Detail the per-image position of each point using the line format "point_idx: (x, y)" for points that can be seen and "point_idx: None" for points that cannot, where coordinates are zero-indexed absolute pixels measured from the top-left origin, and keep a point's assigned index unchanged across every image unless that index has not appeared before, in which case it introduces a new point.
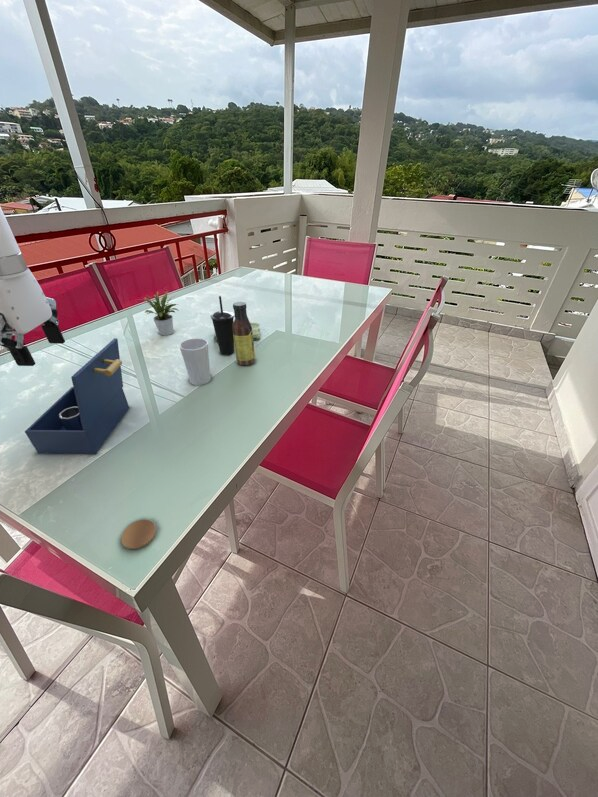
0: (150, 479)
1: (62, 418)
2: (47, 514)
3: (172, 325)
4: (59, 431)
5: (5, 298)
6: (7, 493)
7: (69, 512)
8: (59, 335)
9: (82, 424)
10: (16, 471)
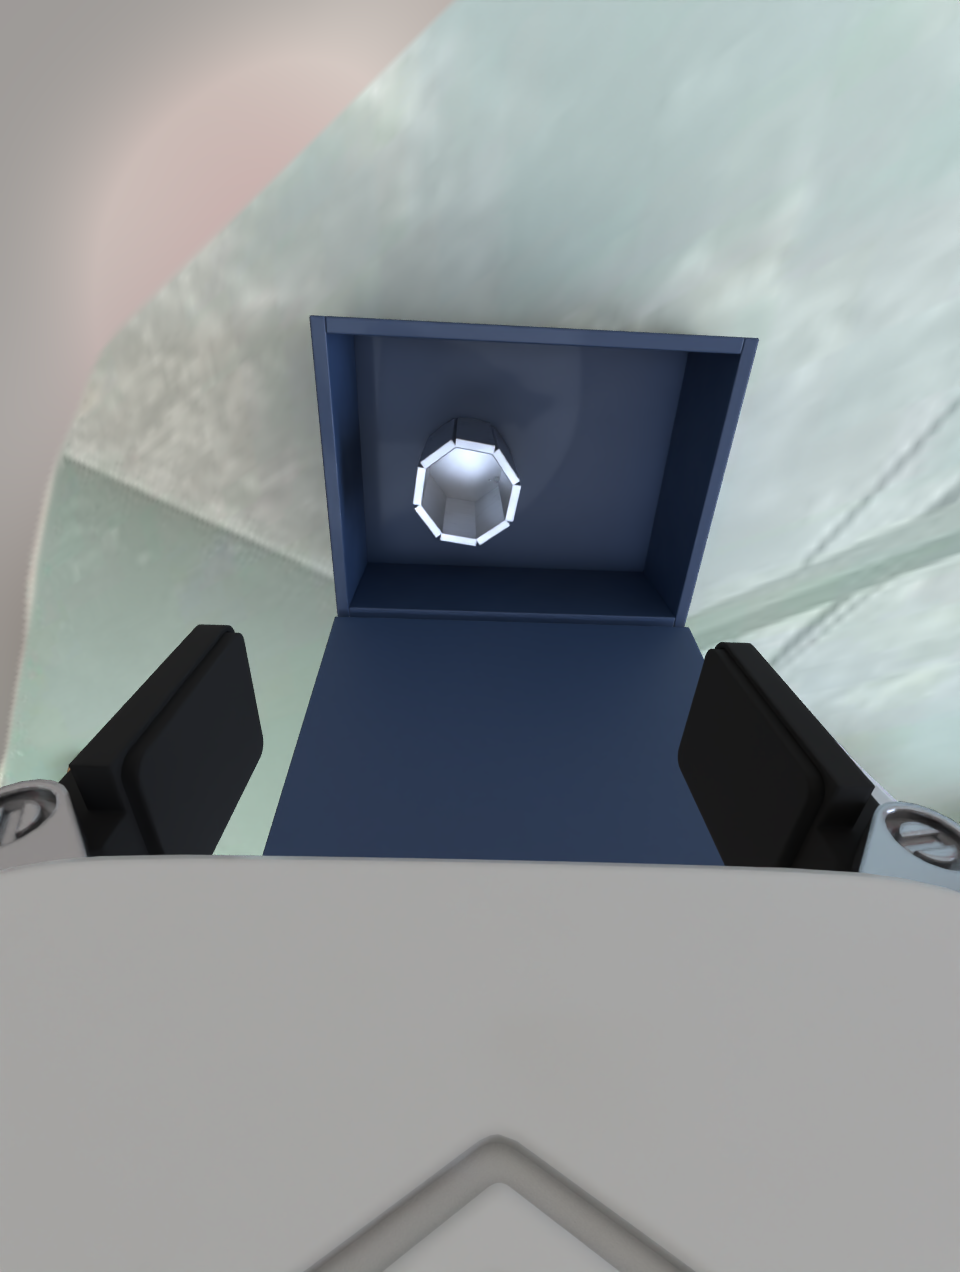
0: (276, 753)
1: (415, 479)
2: (88, 542)
3: None
4: (331, 506)
5: None
6: (118, 334)
7: (115, 601)
8: (708, 825)
9: (328, 642)
10: (228, 285)
